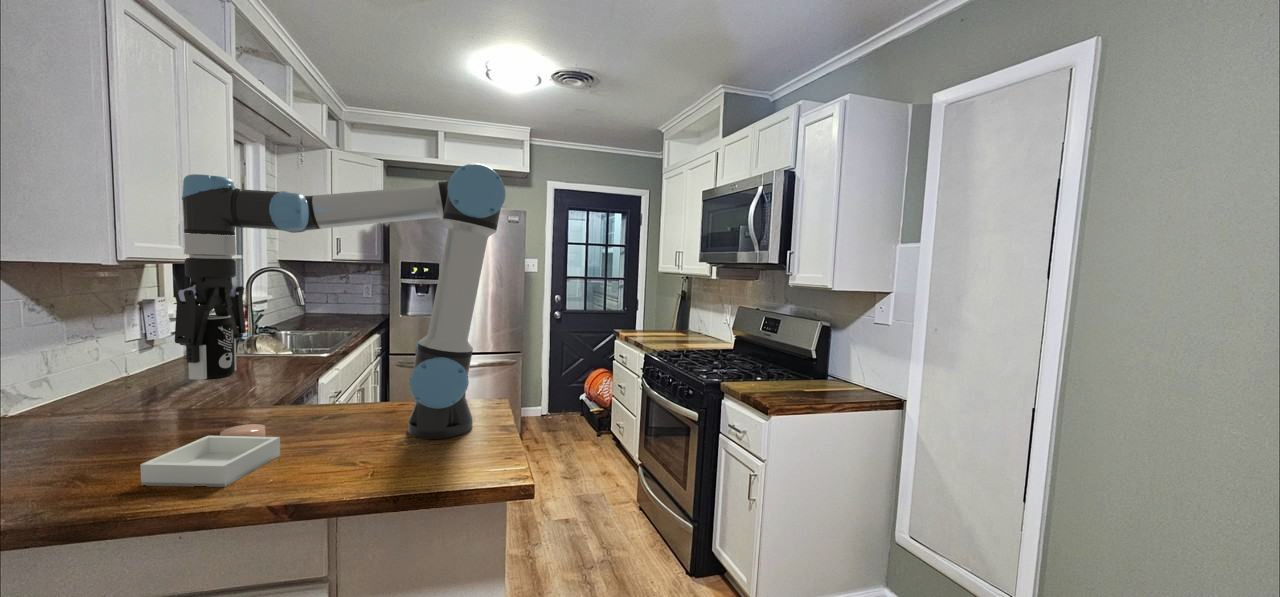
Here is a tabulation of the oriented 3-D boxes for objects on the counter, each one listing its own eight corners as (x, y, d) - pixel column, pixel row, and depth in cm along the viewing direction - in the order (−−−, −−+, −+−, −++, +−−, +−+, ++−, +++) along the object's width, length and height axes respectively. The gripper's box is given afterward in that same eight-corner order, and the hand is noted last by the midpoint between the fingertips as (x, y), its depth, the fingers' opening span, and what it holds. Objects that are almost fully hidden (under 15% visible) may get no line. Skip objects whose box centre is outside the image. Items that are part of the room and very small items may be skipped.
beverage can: (209, 382, 95) (207, 319, 94) (181, 379, 96) (180, 316, 95) (243, 374, 101) (242, 315, 101) (217, 371, 103) (215, 313, 102)
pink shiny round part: (273, 437, 118) (273, 424, 118) (248, 450, 110) (248, 436, 110) (238, 436, 118) (238, 423, 118) (210, 449, 110) (210, 435, 110)
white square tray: (280, 455, 108) (279, 437, 108) (224, 487, 93) (224, 466, 93) (208, 453, 108) (207, 435, 107) (141, 485, 93) (140, 464, 92)
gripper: (230, 256, 107) (232, 363, 108) (142, 256, 87) (146, 386, 89) (266, 258, 107) (268, 364, 109) (186, 257, 87) (190, 387, 89)
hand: (213, 374), depth 99 cm, fingers closed on beverage can, 7 cm apart
